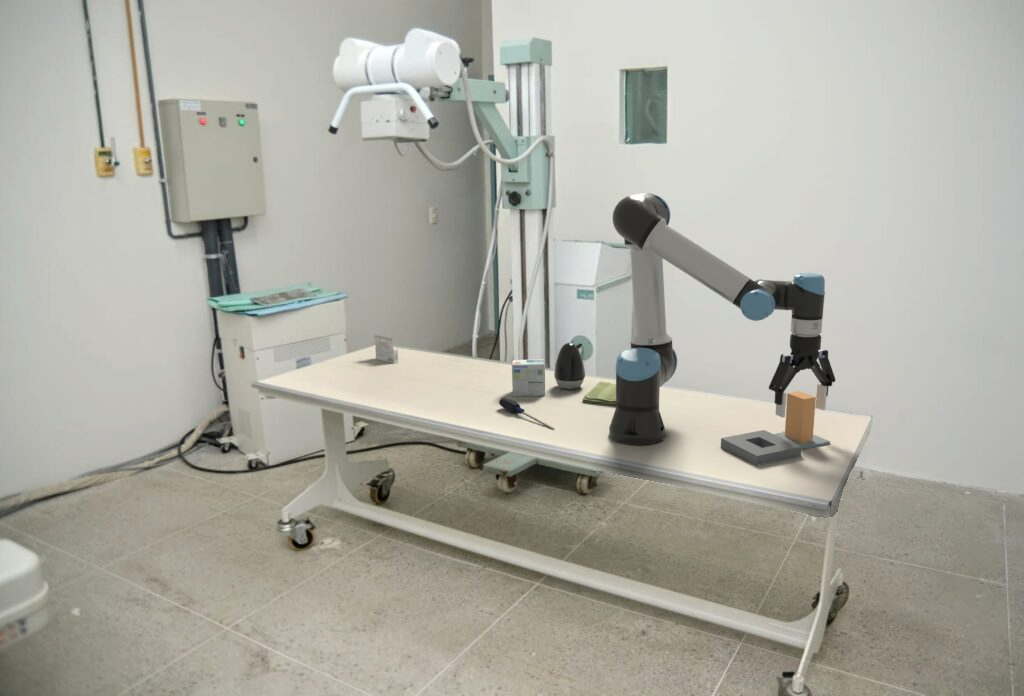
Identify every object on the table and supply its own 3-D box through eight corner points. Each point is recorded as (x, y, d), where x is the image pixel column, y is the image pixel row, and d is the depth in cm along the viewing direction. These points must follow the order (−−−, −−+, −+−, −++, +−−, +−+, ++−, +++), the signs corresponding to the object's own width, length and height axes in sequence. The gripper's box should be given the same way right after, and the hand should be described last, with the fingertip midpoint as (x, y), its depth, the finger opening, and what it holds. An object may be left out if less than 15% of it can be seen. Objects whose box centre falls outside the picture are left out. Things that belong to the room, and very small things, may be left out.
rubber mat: (797, 450, 203) (797, 448, 203) (768, 437, 213) (768, 434, 213) (830, 443, 208) (830, 441, 207) (800, 430, 217) (800, 428, 217)
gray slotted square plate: (756, 465, 194) (756, 455, 194) (720, 447, 207) (721, 438, 206) (800, 456, 199) (801, 446, 199) (763, 438, 212) (763, 429, 211)
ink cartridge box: (380, 358, 308) (378, 333, 305) (398, 362, 300) (397, 337, 298) (375, 359, 306) (373, 334, 304) (393, 363, 299) (392, 338, 296)
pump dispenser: (591, 387, 262) (591, 343, 258) (567, 393, 256) (567, 348, 253) (572, 381, 270) (572, 337, 266) (548, 386, 264) (547, 342, 261)
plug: (800, 443, 207) (803, 399, 204) (784, 435, 212) (787, 393, 209) (812, 440, 208) (815, 397, 205) (796, 433, 214) (799, 391, 211)
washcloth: (580, 404, 246) (580, 394, 246) (597, 388, 262) (597, 379, 261) (621, 408, 241) (621, 398, 240) (636, 392, 257) (636, 383, 256)
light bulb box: (545, 390, 261) (544, 358, 258) (545, 396, 254) (545, 363, 251) (512, 390, 261) (512, 359, 258) (512, 396, 254) (511, 364, 252)
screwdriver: (559, 429, 224) (559, 416, 223) (549, 432, 221) (549, 419, 221) (507, 407, 244) (506, 395, 243) (497, 409, 242) (497, 397, 241)
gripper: (777, 342, 195) (772, 423, 200) (853, 331, 205) (847, 409, 210) (757, 336, 202) (753, 414, 207) (832, 326, 212) (826, 401, 217)
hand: (800, 412), depth 209 cm, fingers open, 13 cm apart
